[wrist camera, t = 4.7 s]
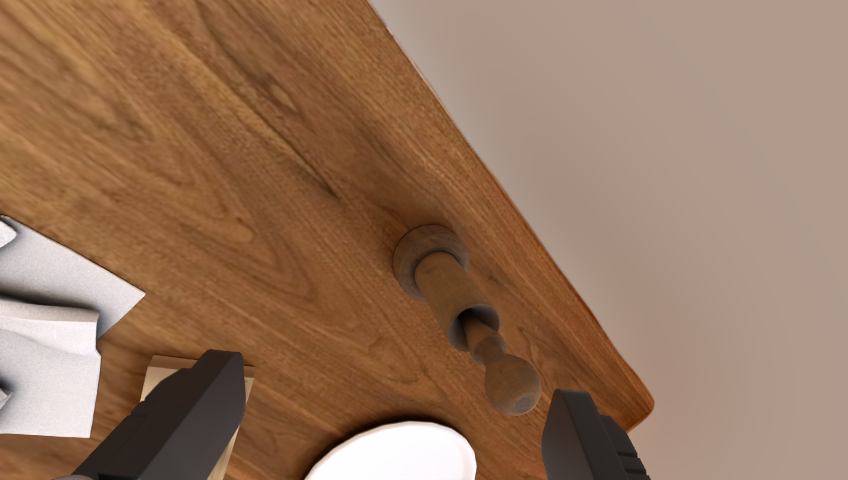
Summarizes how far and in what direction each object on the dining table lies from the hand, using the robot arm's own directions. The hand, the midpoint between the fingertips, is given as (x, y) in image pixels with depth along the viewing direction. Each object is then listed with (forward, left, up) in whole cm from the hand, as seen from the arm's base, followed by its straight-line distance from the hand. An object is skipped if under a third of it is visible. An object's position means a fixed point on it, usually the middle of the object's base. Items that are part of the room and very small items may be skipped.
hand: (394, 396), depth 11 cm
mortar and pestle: (+5, +11, -24) cm, 27 cm away
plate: (+33, +17, -24) cm, 44 cm away
